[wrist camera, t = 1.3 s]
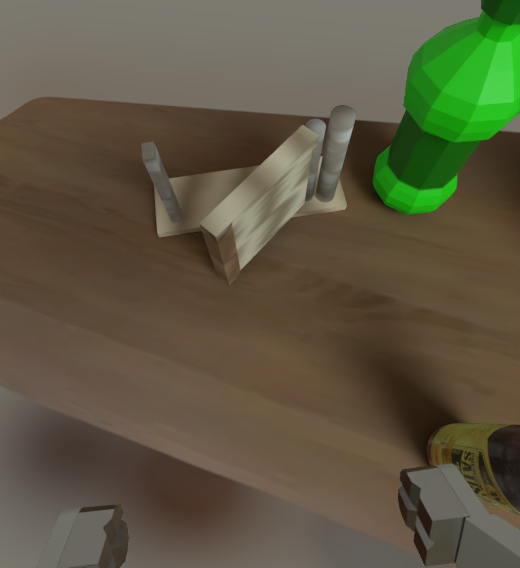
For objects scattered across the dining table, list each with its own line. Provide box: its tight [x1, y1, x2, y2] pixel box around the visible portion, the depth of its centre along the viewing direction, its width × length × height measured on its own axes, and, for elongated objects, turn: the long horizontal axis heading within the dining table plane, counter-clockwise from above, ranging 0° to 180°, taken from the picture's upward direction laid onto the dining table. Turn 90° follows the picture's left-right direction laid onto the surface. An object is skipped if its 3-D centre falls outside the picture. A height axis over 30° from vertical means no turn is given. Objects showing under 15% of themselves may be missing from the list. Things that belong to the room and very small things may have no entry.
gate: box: [199, 119, 326, 285], centre depth 40 cm, size 16×2×12 cm, turn 139°
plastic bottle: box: [373, 0, 520, 214], centre depth 37 cm, size 10×10×25 cm
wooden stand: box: [141, 105, 356, 237], centre depth 43 cm, size 24×8×14 cm, turn 99°
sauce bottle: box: [427, 423, 520, 515], centre depth 28 cm, size 6×6×20 cm
